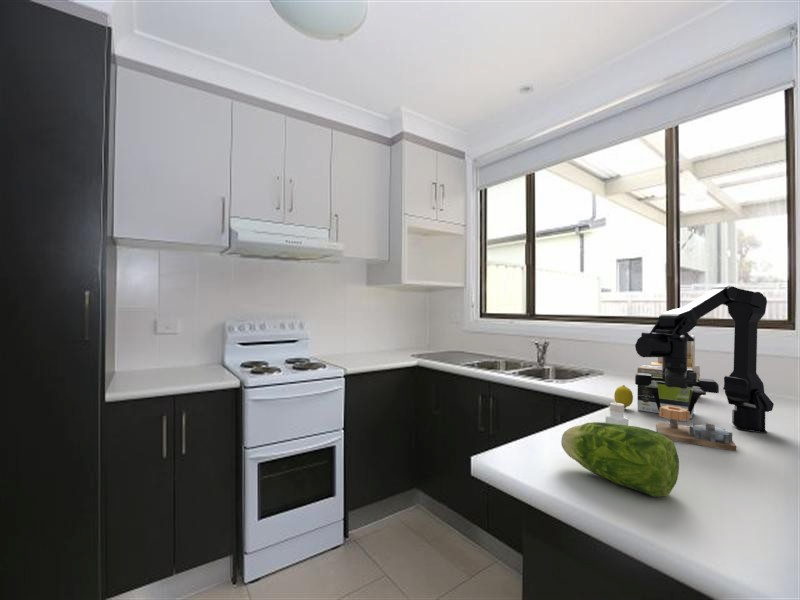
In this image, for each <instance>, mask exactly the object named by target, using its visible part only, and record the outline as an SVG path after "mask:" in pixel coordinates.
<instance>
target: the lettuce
mask: <svg viewBox="0 0 800 600" xmlns="http://www.w3.org/2000/svg"><path fill="white" fill-rule="evenodd" d="M560 442H561V447H562V450H563V451H564V452H565V453H566V455H567V456H568V457H569V458H571V459H572V460H574V461H575V462H577V463H578V464H580V465H581V466H582V467H583V468H584V469H586V470H588V471H589V472H591V473H593V474H595V475H597V476H600V477H601V478H604V479H606V480H608V481H611V482H613V483H614V484H617V485H619V486H622V487H625V488H626V489H627V488H628V489H630V490H634V491H637V492H641V493H644V494H647V495H649V496H651V497H654V498H659V497H665V496H668V495H669V494H670V493H671V492H672V490H673V489H674V487H675V485H676V484H677V482H678V478H679V473H680V472H679V471H680V460H679V459H680V458H679V454H678V450H677V448H676V445H675V441H673V440H670V439H668V438H667V437H666V436H664V435H663V434H661V433H659V432H657V430H656V431H655V430H653V429H649V428H645V427H640V426H634V425H629V424H628V425H620V424H613V423H605V422H599V421H597V422H596V421H594V422H593V421H592V422H586V423H584V424H579V425H574V426H572V427H569V428H567V429H566V430H565V431H564V432H563V433H562V436H561V441H560Z"/></svg>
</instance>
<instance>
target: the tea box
mask: <svg viewBox="0 0 800 600" xmlns="http://www.w3.org/2000/svg"><path fill="white" fill-rule="evenodd" d="M687 370H692V369H687ZM637 373H647V374H651V377H659V378H662V367H659V366H651V365H647V364H646V365H644V364H642V365H640V366H638V367H637ZM657 386H658V392H659V399H660V406H666V405H669V406H674V407H681V408H684V409H688V404H689V396H690V389H692V387H687V388H686V389H681V388H678V387H667V386H666V385H664V384H657ZM636 398H637V410H638V411H642V412H648V413H656V414H659V410H658V407H657V404H656V401H655V398H654V396H653V394H652V392H651V390H650V389H646V386H645V385H637V397H636ZM694 412H695V407H694V408H693V410H692V412H691V415H690V419H693V415H694Z"/></svg>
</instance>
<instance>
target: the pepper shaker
mask: <svg viewBox="0 0 800 600" xmlns="http://www.w3.org/2000/svg"><path fill="white" fill-rule="evenodd" d="M609 411H610V412H609V414H607V415H605V422H604V423H613V424H620V425H628V426H629V418H627V417H625V408H624V404H621V403H616V402H615V401H614V402H610V403H609Z"/></svg>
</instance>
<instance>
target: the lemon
mask: <svg viewBox="0 0 800 600" xmlns="http://www.w3.org/2000/svg"><path fill="white" fill-rule="evenodd" d="M613 397H614V402H615V403H621V404H624V409H626V408H627V407H629V406H631V405H632V403H633V401H634V395H633V391H632V390H631V389H630V388H629V387H628V386H626V385H624V384H623V385H621V386H618V387H616V389H615V391H614V396H613Z"/></svg>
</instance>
